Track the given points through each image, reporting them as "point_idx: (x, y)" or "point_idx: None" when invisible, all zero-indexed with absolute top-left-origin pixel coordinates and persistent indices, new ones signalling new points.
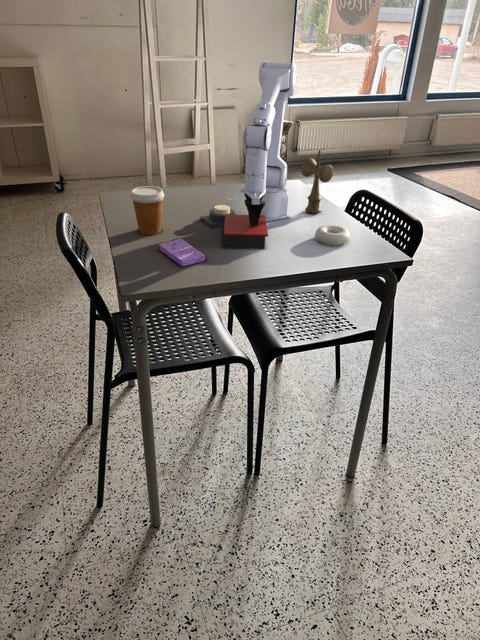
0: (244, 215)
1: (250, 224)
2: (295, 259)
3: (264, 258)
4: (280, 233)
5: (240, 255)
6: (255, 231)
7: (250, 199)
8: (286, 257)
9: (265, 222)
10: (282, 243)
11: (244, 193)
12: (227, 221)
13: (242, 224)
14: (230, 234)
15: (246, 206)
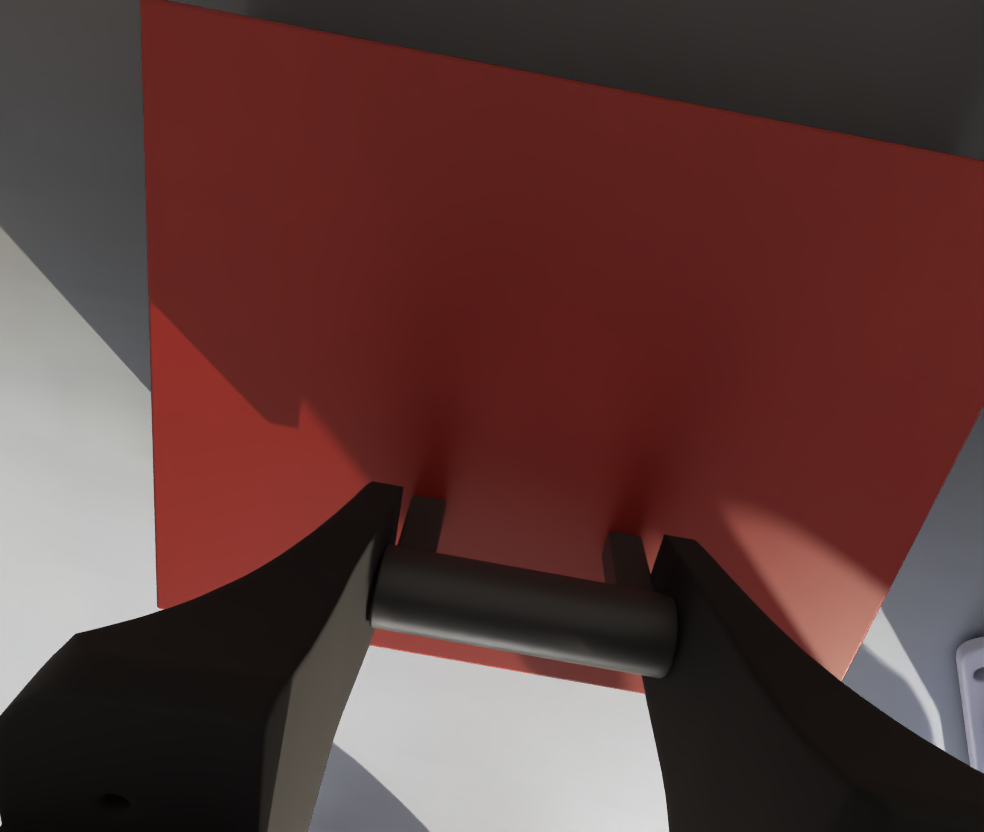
0: (912, 488)
1: (365, 488)
2: (27, 661)
3: (3, 432)
4: (610, 700)
5: (40, 202)
6: (251, 497)
7: (758, 797)
8: (57, 610)
9: (565, 671)
10: (368, 657)
11: (955, 826)
12: (715, 164)
13: (533, 384)
14: (151, 117)
15: (98, 629)
